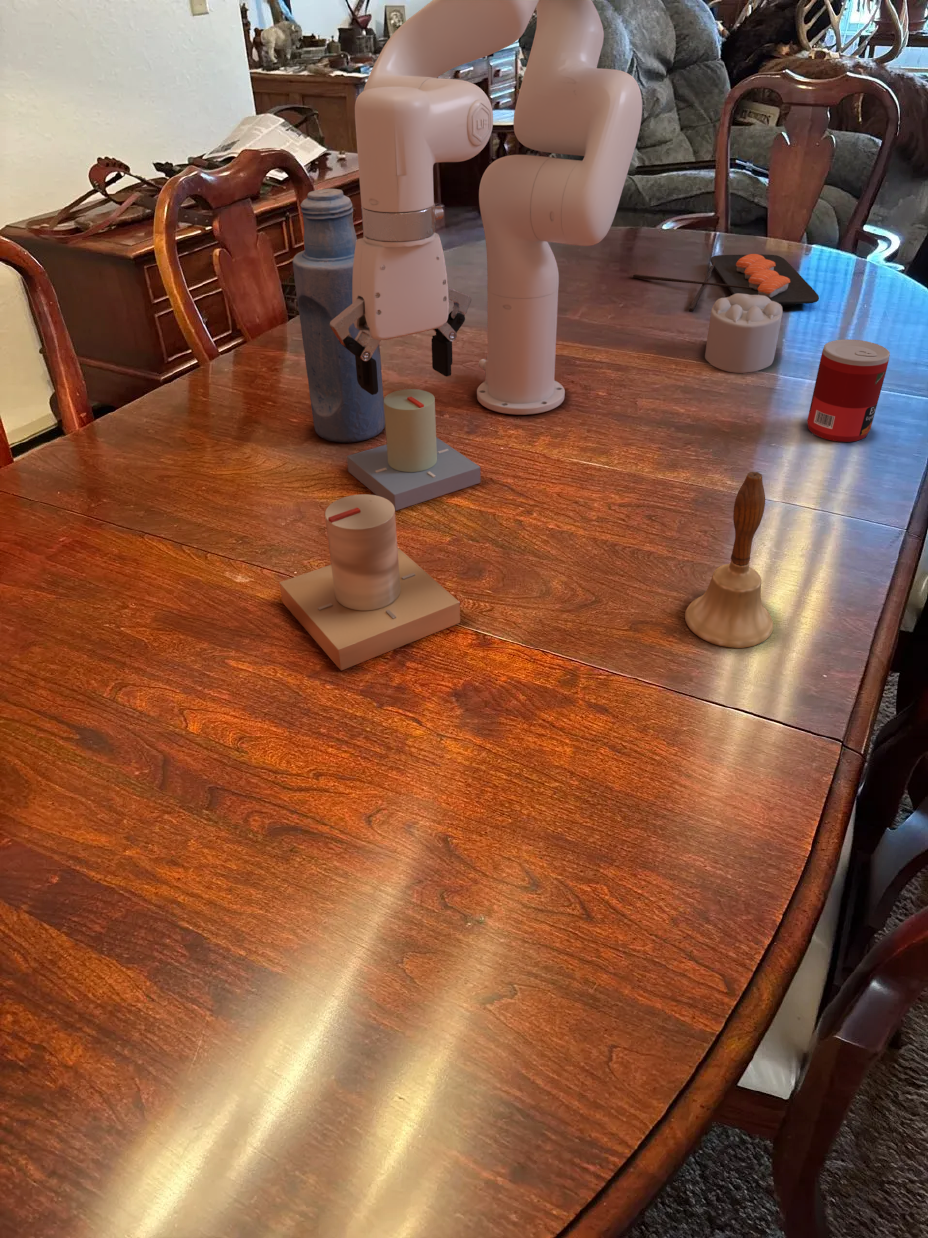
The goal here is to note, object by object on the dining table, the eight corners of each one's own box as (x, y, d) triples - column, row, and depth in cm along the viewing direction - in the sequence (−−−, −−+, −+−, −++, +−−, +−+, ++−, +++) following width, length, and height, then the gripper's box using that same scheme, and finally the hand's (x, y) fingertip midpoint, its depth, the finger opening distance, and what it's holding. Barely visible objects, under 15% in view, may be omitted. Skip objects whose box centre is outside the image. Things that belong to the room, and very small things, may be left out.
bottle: (400, 426, 126) (385, 189, 108) (345, 451, 120) (320, 204, 102) (354, 407, 131) (332, 178, 113) (299, 430, 125) (267, 192, 107)
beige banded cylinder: (378, 566, 93) (371, 484, 88) (413, 595, 89) (408, 511, 84) (322, 587, 90) (311, 504, 85) (356, 618, 86) (346, 533, 81)
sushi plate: (822, 311, 160) (827, 289, 158) (649, 314, 161) (651, 292, 158) (778, 263, 183) (782, 243, 181) (627, 265, 184) (629, 245, 182)
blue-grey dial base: (347, 471, 115) (346, 454, 114) (429, 447, 120) (429, 430, 119) (395, 511, 107) (394, 493, 106) (480, 482, 112) (480, 465, 111)
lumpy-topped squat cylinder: (777, 346, 147) (787, 291, 142) (769, 376, 137) (780, 318, 132) (711, 339, 150) (718, 285, 145) (698, 368, 140) (706, 311, 135)
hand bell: (757, 658, 84) (791, 506, 75) (671, 630, 88) (693, 481, 78) (783, 612, 90) (818, 465, 80) (702, 588, 94) (726, 444, 84)
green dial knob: (379, 458, 113) (374, 394, 108) (421, 445, 116) (417, 382, 111) (403, 476, 109) (399, 411, 104) (446, 463, 112) (444, 398, 107)
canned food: (873, 445, 119) (895, 362, 112) (808, 440, 120) (826, 358, 113) (864, 420, 125) (885, 340, 118) (803, 416, 126) (820, 337, 119)
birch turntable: (282, 602, 93) (278, 580, 91) (394, 562, 98) (392, 541, 97) (340, 671, 84) (338, 648, 82) (460, 622, 90) (459, 600, 88)
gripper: (449, 206, 102) (452, 356, 112) (307, 228, 95) (324, 387, 105) (487, 219, 97) (486, 375, 107) (340, 243, 90) (354, 409, 100)
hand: (406, 381), depth 106 cm, fingers open, 9 cm apart
